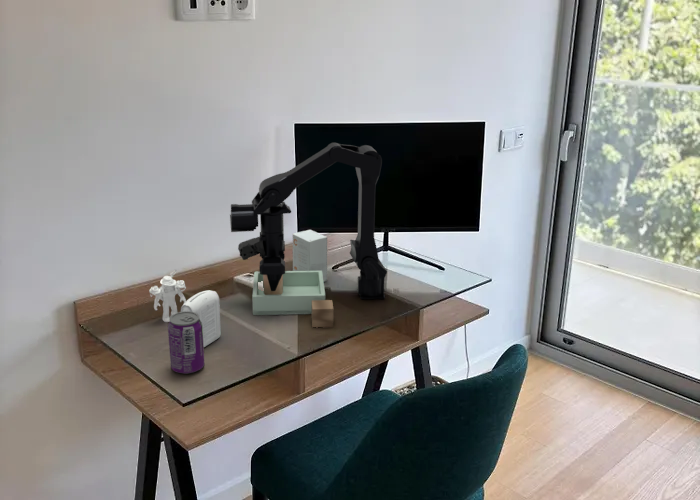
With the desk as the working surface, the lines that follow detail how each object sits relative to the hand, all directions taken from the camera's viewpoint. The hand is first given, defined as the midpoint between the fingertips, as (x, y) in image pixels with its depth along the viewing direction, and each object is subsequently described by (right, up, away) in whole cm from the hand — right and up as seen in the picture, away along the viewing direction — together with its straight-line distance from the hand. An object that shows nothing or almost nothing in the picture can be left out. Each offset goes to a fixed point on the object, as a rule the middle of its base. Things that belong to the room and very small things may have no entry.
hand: (273, 286), depth 188 cm
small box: (+9, +1, +15) cm, 18 cm away
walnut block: (+13, -8, -10) cm, 18 cm away
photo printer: (-14, -12, -20) cm, 28 cm away
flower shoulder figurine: (-24, -8, -9) cm, 27 cm away
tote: (+4, -4, +2) cm, 6 cm away
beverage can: (-15, -16, -31) cm, 38 cm away
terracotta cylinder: (0, -1, 0) cm, 2 cm away
